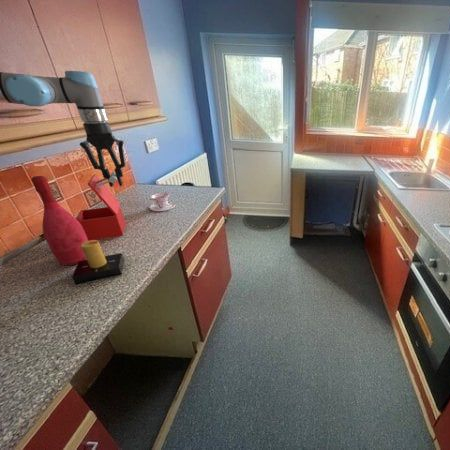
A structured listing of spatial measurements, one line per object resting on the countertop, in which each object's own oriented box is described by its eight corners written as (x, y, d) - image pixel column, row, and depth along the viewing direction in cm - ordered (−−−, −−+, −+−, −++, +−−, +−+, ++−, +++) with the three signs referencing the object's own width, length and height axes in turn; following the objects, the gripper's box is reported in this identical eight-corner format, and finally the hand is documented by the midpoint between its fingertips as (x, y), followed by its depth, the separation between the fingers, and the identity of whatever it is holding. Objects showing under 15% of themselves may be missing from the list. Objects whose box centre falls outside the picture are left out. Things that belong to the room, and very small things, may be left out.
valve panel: (75, 284, 77) (71, 277, 75) (82, 268, 84) (78, 260, 82) (121, 274, 82) (118, 267, 80) (124, 259, 89) (121, 252, 87)
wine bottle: (52, 269, 83) (5, 182, 69) (66, 252, 91) (26, 172, 77) (87, 264, 86) (49, 180, 71) (98, 248, 94) (65, 171, 80)
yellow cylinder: (88, 269, 79) (78, 247, 75) (91, 262, 82) (82, 240, 78) (105, 266, 80) (96, 244, 76) (107, 258, 84) (99, 237, 80)
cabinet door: (87, 183, 90) (110, 174, 92) (93, 175, 99) (114, 166, 101) (115, 215, 99) (135, 206, 101) (118, 204, 108) (137, 196, 110)
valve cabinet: (82, 242, 97) (73, 222, 93) (88, 228, 107) (80, 210, 102) (123, 235, 103) (116, 216, 99) (125, 223, 112) (119, 205, 108)
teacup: (171, 200, 136) (168, 190, 133) (179, 207, 128) (176, 196, 126) (146, 206, 129) (143, 194, 126) (153, 214, 121) (150, 202, 118)
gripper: (64, 123, 82) (90, 190, 93) (120, 122, 88) (138, 185, 100) (70, 121, 88) (94, 184, 99) (122, 120, 94) (139, 180, 105)
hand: (116, 185), depth 99 cm, fingers closed on cabinet door, 2 cm apart
